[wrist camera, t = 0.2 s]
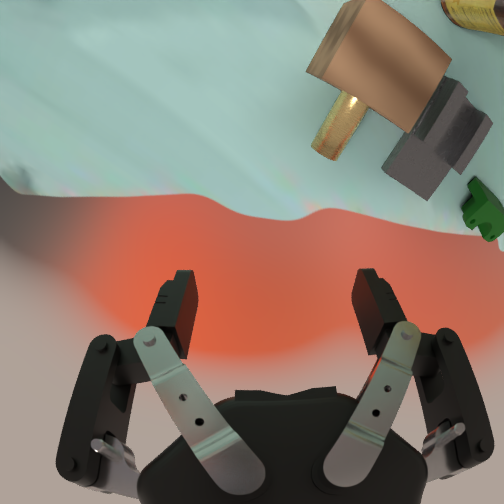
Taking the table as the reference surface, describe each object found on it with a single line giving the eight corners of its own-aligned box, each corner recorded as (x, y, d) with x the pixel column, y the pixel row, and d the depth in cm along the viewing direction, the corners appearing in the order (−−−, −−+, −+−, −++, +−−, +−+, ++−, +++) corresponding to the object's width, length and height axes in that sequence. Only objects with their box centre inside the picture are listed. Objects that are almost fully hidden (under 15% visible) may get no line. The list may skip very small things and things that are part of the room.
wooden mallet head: (343, 3, 18) (370, -7, 12) (414, 52, 21) (452, 59, 15) (305, 71, 24) (321, 78, 19) (378, 113, 27) (408, 133, 21)
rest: (439, 74, 22) (457, 80, 19) (476, 114, 24) (493, 124, 21) (381, 168, 32) (393, 182, 29) (422, 195, 34) (435, 211, 31)
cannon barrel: (374, 24, 18) (388, 24, 16) (397, 41, 19) (412, 43, 16) (308, 141, 28) (314, 152, 25) (332, 152, 29) (340, 164, 26)
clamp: (449, 187, 37) (456, 216, 32) (469, 165, 33) (482, 192, 27) (485, 227, 37) (494, 260, 32) (505, 209, 32) (518, 241, 27)
